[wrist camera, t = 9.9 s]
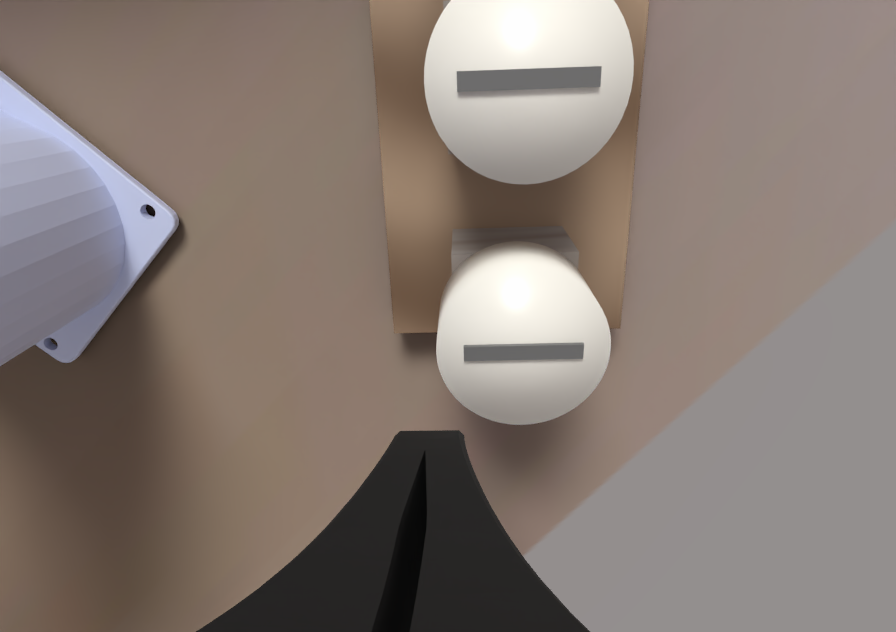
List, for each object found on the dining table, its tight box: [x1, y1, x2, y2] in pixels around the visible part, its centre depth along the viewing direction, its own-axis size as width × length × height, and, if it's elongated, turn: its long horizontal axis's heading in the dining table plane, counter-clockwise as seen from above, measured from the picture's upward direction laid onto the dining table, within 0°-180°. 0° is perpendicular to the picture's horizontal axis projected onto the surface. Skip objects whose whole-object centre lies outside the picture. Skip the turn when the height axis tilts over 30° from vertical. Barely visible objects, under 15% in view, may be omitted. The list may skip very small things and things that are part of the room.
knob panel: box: [369, 0, 649, 333], centre depth 17 cm, size 17×8×4 cm, turn 2°
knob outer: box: [436, 241, 611, 425], centre depth 17 cm, size 4×4×6 cm
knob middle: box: [424, 0, 634, 184], centre depth 15 cm, size 4×4×6 cm
